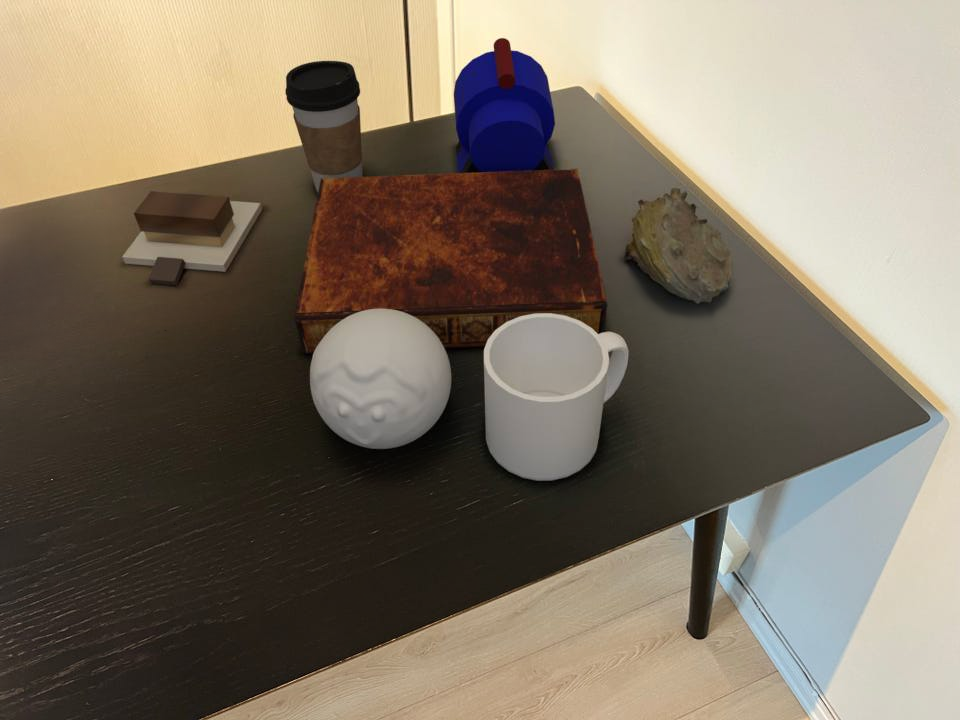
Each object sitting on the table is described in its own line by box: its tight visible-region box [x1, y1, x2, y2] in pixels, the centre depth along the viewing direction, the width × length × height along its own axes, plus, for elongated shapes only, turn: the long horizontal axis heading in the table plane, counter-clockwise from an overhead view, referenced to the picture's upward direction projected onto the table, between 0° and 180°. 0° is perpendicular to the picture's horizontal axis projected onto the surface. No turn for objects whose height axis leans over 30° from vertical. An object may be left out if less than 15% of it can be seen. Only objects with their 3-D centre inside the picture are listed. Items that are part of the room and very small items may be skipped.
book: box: [293, 168, 608, 355], centre depth 85 cm, size 30×24×5 cm
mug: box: [483, 313, 629, 482], centre depth 67 cm, size 13×10×10 cm
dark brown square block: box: [148, 257, 185, 286], centre depth 87 cm, size 3×3×1 cm
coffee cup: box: [285, 60, 364, 194], centre depth 94 cm, size 8×8×15 cm
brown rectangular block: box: [133, 190, 235, 247], centre depth 90 cm, size 9×4×4 cm, turn 81°
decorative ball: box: [309, 309, 452, 450], centre depth 68 cm, size 12×12×12 cm
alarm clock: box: [453, 37, 556, 173], centre depth 97 cm, size 12×12×15 cm
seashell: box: [623, 187, 733, 305], centre depth 83 cm, size 11×14×10 cm
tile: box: [121, 200, 263, 273], centre depth 92 cm, size 12×12×1 cm
